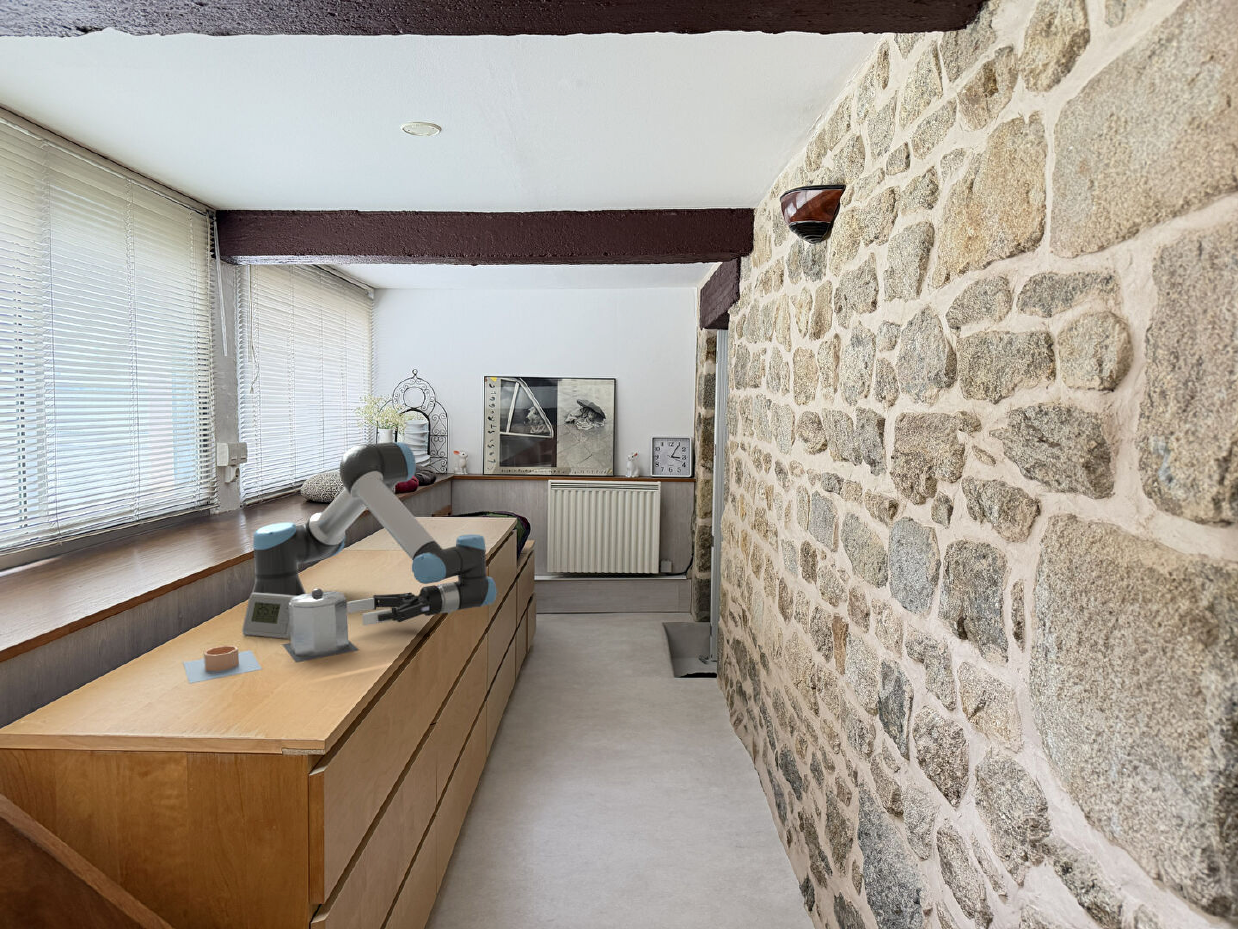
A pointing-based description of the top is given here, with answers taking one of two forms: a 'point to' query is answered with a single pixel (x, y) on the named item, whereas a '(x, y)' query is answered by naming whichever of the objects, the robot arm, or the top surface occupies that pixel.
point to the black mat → (304, 658)
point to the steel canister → (318, 623)
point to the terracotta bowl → (221, 658)
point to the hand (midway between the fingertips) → (355, 613)
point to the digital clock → (268, 615)
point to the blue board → (199, 673)
